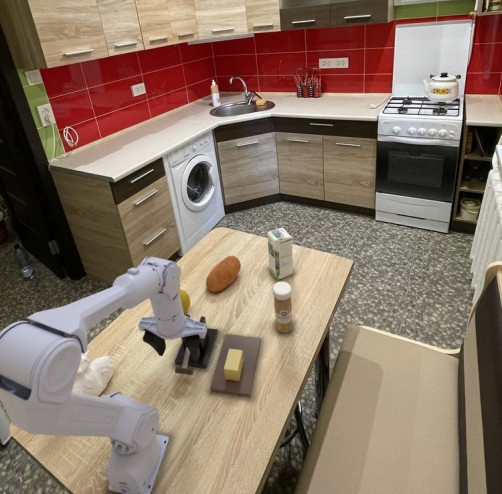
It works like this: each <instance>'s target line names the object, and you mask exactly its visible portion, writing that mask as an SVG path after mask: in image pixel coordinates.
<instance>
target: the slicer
mask: <svg viewBox="0 0 502 494" xmlns="http://www.w3.org/2000/svg"><path fill="white" fill-rule="evenodd" d="M185 316H187V317H189V318H191V315H190V314H185ZM198 322H200V323H203V324H206V326H207V325H208V324H207V320H206V316H203V315H202V316H200V319H199V321H198ZM218 333H219V329H218V328H210V327H208V326H207V333H206V336H205V338H200V341H199V348H198V355H197V358H196V360H192V359H191V355H190V360H189V365H188V367H194V368H195V367H196V368H203V369H207V368H208V366H209V363H210V360H211V356H212V353H213V350H214V347H215V343H216V340H217V337H218V335H219V334H218ZM188 337H189V336H185V337H180V339H181V345H180V347H179V349H178V352H177V355H176V357H175V359H174V364H175V365H178V366H179V365H180V366H182V365H183V361H184V356H185V352H186V346H185V344H186V342H187V339H188Z"/></svg>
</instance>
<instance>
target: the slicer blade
mask: <svg viewBox="0 0 502 494" xmlns="http://www.w3.org/2000/svg"><path fill="white" fill-rule="evenodd" d="M196 321H197V322H199V321H198V320H196ZM189 360H190V351H189V350H188V348H187V347H186V352H185V356H184V361H183V365H181V366H179V365H176V366H175V369H174V374H180V375H186V376H187V375H188V376H193V375H194V368H193V367H189V366H188V365H189Z"/></svg>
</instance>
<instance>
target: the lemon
mask: <svg viewBox="0 0 502 494" xmlns="http://www.w3.org/2000/svg"><path fill="white" fill-rule="evenodd" d="M179 294H180V298H181V303H182V307H183V312H184V314H185V313H187V312H188V311H189V309H190V307H191V297H190V295H189V294H188V292H187V291H186V290H184V289H180V290H179Z"/></svg>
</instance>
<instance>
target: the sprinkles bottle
mask: <svg viewBox="0 0 502 494" xmlns="http://www.w3.org/2000/svg"><path fill="white" fill-rule="evenodd" d="M272 294H273V300H274V301H273V304H274V305H273V306H274V318H275V329H276V330H277V331H278V332H279V333H282V334H286V333H289V332H290V331H292V330H293V308H292V307H293V305H292V286H291V284H290V283H288V282H286V281H277V282H276V283H274V285H273V287H272Z"/></svg>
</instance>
